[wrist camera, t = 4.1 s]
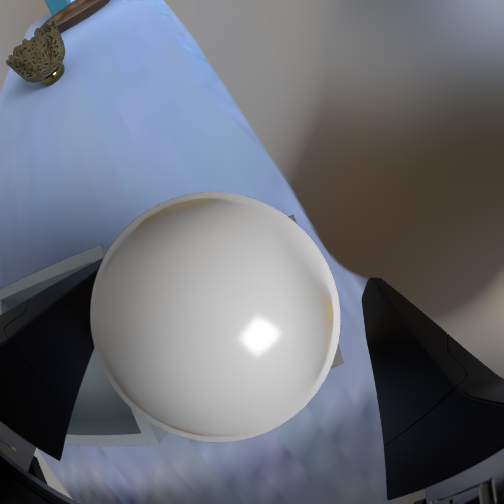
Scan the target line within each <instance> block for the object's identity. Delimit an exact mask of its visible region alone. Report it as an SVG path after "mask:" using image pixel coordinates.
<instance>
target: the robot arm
mask: <svg viewBox="0 0 504 504" xmlns="http://www.w3.org/2000/svg"><path fill="white" fill-rule="evenodd" d="M103 259H104V258H101V259H99V260H97V261H95V262H94V263H92V264H90V265H88V266H86V267H84V268H82V269H80V270H78V271H77V272H75V273H73V274H71V275H69V276H67V277H66V278H64V279H62V280H60V281H58V282H57V283H55V284H53V285H51V286H49V287H48V288H46V289H44V290H42V291H41V292H39V293H37V294H36V295H34V296H32V297H31V298H29V299H27V300H25V301H24V302H22V303H20V304H19V305H17V306H15V307H14V308H12V309H10V310H8V311H6V312H5V313H3V314H1V315H0V504H80V503H78V502H76V501H74V500H72V499H70V498H68V497H67V496H65V495H63V494H61V493H60V492H58V491H56V490H55V489H53V488H51V487H50V486H48V485H47V482H46V480H45V477H44V475H43V472H42V470H41V468H40V465H39V462H38V460H37V458H36V457H35V456H34V452H35V450H36V447H37V448H38V449H40V450H41V451H43V452H45V453H46V454H48V455H50V456H51V457H53V458H55V459H57V460H59V461H60V459H61V456H62V452H63V447H64V443H65V439H66V435H67V431H68V427H69V423H70V420H71V416H72V412H73V409H74V406H75V402H76V399H77V396H78V393H79V390H80V387H81V384H82V381H83V378H84V375H85V372H86V369H87V366H88V364H89V361H90V358H91V356H92V353H93V350H94V348H95V347H94V342H93V337H92V332H91V320H90V310H91V298H92V292H93V286H94V283H95V279H96V276H97V273H98V270H99V268H100V266H101V263H102V261H103ZM362 307H363V315H364V323H365V333H366V340H367V345H368V350H369V354H370V359H371V364H372V369H373V375H374V380H375V386H376V392H377V398H378V404H379V411H380V418H381V426H382V434H383V443H384V455H385V467H386V484H387V500H391V499H395V498H398V497H402V496H405V495H408V494H411V493H414V492H417V491H420V490H422V489H425V493H426V498H424V499H422V500H419V501H416V502H414V504H504V379H503V378H501V377H499V376H498V375H497V374H495V373H494V372H493V371H492V370H490V369H489V368H488V367H487V366H485V365H484V364H483V363H482V362H481V361H479V360H478V359H477V358H476V357H474V356H473V355H472V354H471V353H469V352H468V351H467V350H466V349H465V348H463V347H462V346H461V345H460V344H459V343H458V342H457V341H455V340H454V339H453V338H452V337H451V336H450V335H449V334H447V333H446V332H445V331H444V330H443V329H442V328H441V327H440V326H438V325H437V324H436V323H435V322H434V321H433V320H431V319H430V318H429V317H428V316H427V315H426V314H424V313H423V312H422V311H421V310H420V309H419V308H417V307H416V306H415V305H414V304H412V303H411V302H410V301H409V300H408V299H406V298H405V297H404V296H403V295H402V294H400V293H399V292H398V291H397V290H395V289H394V288H393V287H392V286H390V285H389V284H388V283H387V282H385V281H384V280H383V279H381V278H377V277H371V278H369V279H368V281H367V284H366V287H365V290H364V292H363V295H362Z"/></svg>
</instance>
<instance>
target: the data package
mask: <svg viewBox="0 0 504 504" xmlns="http://www.w3.org/2000/svg"><path fill="white" fill-rule="evenodd" d="M45 2H46V4H47V6H48V8H49V10H50V11H51V13H52V15H54V14H56V13H57V12H58V11H60V10H61V9H63V8H64V7H66V6H67V5H69V4H70V3H71V2H70V0H45Z"/></svg>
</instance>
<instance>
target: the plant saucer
mask: <svg viewBox="0 0 504 504" xmlns="http://www.w3.org/2000/svg"><path fill="white" fill-rule="evenodd" d="M109 1H110V0H75V1H74V2H72V3H70V4H69V5H67V6H66V7H64V8H63V9H61V10H60V11H58V12H57V13H56V14H54V15H53V16H52V17H51V18H50V19H48V20H47V21H46V22H45V23H49V24H50V25H51V22H52V21H56V24H57V27H58V30H59V32H60V33H61V32H63V31H65V30H67V29H69V28H71V27H73V26H74V25H76V24H78V23H80V22H81V21H83V20H84V19H86V18H88V17H89V16H91V15H92V14H94V13H95V12H97V11H98V10H100V9H101V8H102V7H104V6H105V5H106V4H107V3H108V2H109ZM45 23H44V24H45ZM44 24H43V25H44ZM43 25H42V26H43ZM42 26H41V28H42ZM41 28H40V29H41Z"/></svg>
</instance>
